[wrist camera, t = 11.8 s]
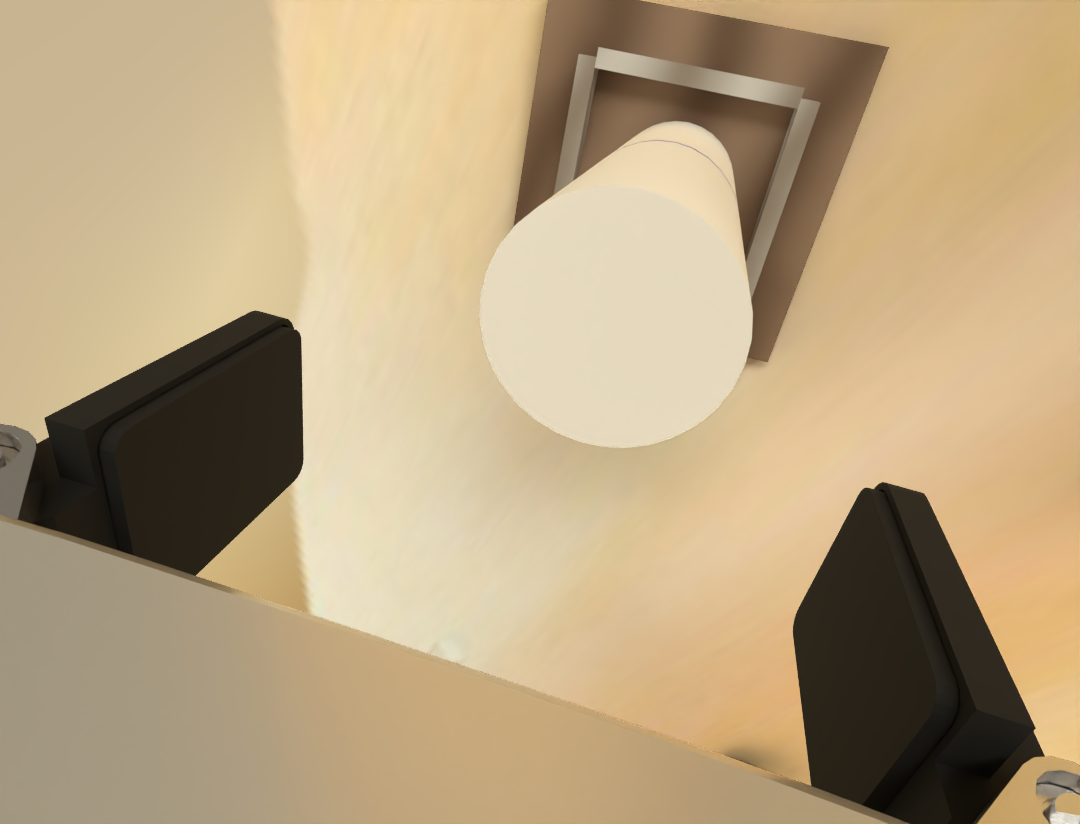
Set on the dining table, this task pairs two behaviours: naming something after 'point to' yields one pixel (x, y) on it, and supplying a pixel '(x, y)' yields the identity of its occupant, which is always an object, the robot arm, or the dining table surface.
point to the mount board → (705, 118)
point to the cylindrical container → (625, 294)
